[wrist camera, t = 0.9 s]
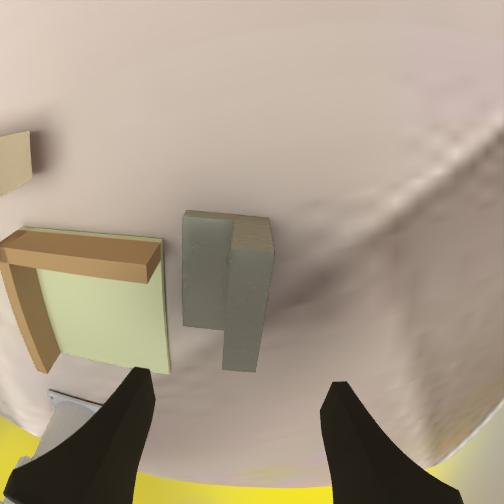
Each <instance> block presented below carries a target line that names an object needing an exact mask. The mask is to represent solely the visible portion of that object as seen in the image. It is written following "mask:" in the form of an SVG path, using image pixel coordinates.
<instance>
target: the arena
mask: <svg viewBox="0 0 504 504" xmlns="http://www.w3.org/2000/svg"><path fill="white" fill-rule="evenodd" d="M0 270H1V274H2V277H3V281H4V284H5V288H6V291H7V294H8V298H9V301H10V304H11V307H12V310H13V313H14V315H15V318H16V321H17V324H18V326H19V329H20V332H21V334H22V337H23V339H24V342H25V344H26V346H27V349H28V351H29V353H30V356H31V358H32V360H33V362H34V364H35V367H36V369H37V371H40V372H43V373H46V374H48V372H49V371H50V369H51V367H52V366H53V364H54V362H55V361H56V359H57V357H58V356H59V354H60V353H61V352H62V353H66V354H69V355H73V356H77V357H81V358H85V359H90V360H94V361H98V362H103V363H108V364H112V365H117V366H122V367H127V368H134V367H141V368H147V369H150V372H156V373H162V374H170V370H171V369H170V359H169V348H168V337H167V324H166V309H165V291H164V267H163V239H159V238H148V237H136V236H125V235H114V234H102V233H90V232H79V231H67V230H55V229H43V228H31V227H22V228H20V229H19V230H17V231H16V232H14V233H13V234H11V235H10V236H8V237H7V238H5V239H4V240H2V241H1V242H0Z"/></svg>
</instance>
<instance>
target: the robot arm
mask: <svg viewBox="0 0 504 504" xmlns="http://www.w3.org/2000/svg"><path fill="white" fill-rule="evenodd" d="M47 394H48V396H49V398H50V400H51V402H52V403H53V405H54V407H55V411H54V413H53V415H52V417H51V419H50V421H49V423H48V425H47V427H46V430H45V432H44V434H43V436H42V438H41V441H40V443H39V445H38V447H37V450H36V452H35V454H34V456H33V457H32V458H30V457H28V456H25V457H21V458H20V459H19V461H18V463H17V465H16V467H15V469H14V470H13V471H12V473H11V475H10V477H9V479H8V482H7V484H6V487H5V490H4V492H3V494H4V496H5V499H4V502H1V501H0V504H132V502H133V493H134V486H135V480H136V474H137V469H138V465H139V462H140V458H141V455H142V452H143V448H144V445H145V442H146V438H147V435H148V432H149V429H150V425H151V422H152V417H153V412H154V406H155V400H156V399H155V394H154V389H153V384H152V379H151V373H150V369H147V368H141V367H134V368H133V369H132V370H131V371H130V373H129V374H128V375H127V377H126V378H125V379H124V381H123V382H122V383H121V384H120V386H119V387H118V388H117V389H116V391H115V392H114V393H113V394H112V395H111V396H110V398H109V399H108V400H107V401H106V402H105V403H104V404H103V406H101V405H97V404H93V403H90V402H86V401H82V400H79V399H76V398H72V397H69V396H66V395H63V394H60V393H56V392H53V391H51V390H48V392H47ZM320 420H321V431H322V437H323V441H324V446H325V451H326V455H327V460H328V465H329V469H330V474H331V480H332V490H333V504H464V503H463V500H462V497H461V495H460V492H459V491H458V490H456V489H455V488H453V487H451V486H449V485H447V484H445V483H443V482H441V481H440V480H438V479H437V478H435V477H434V476H432V475H430V474H429V473H428V472H426V471H425V470H424V469H422V468H421V467H420V466H418V465H417V464H416V463H415V462H413V461H412V460H411V459H410V458H409V457H407V456H406V455H405V454H404V453H403V452H402V451H401V450H400V449H399V448H398V447H397V446H396V445H395V444H394V443H393V442H392V441H391V440H390V438H389V437H388V436H387V435H386V434H385V433H384V432H383V430H382V429H381V428H380V427H379V425H378V424H377V423H376V422H375V420H374V419H373V418H372V416H371V415H370V414H369V412H368V411H367V410H366V408H365V407H364V405H363V404H362V403H361V401H360V400H359V398H358V397H357V395H356V394H355V393H354V391H353V390H352V388H351V387H350V385H349V384H348V383H347V381H345V382H332V384H331V387H330V389H329V391H328V394H327V396H326V398H325V401H324V403H323V405H322V407H321V409H320Z"/></svg>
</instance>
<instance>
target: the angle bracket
mask: <svg viewBox="0 0 504 504" xmlns="http://www.w3.org/2000/svg"><path fill="white" fill-rule="evenodd" d="M274 253H275V252H274V246H273V240H272V234H271V228H270V223H269V218H266V217H256V216H246V215H235V214H224V213H213V212H201V211H188V210H186V212H185V214H184V215H183V234H182V296H183V326H188V327H197V328H207V329H217V330H225V333H224V348H223V364H222V370H230V371H243V372H256V366H257V360H258V354H259V348H260V342H261V336H262V330H263V324H264V318H265V311H266V305H267V299H268V292H269V286H270V280H271V273H272V266H273V260H274Z"/></svg>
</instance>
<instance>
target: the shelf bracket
mask: <svg viewBox="0 0 504 504" xmlns="http://www.w3.org/2000/svg"><path fill="white" fill-rule="evenodd" d="M32 179H33V175H32V165H31V152H30V131H26V132H20V133H15V134H11V135H6V136H1V137H0V197H1V196H3V195H5V194H7V193H8V192H10V191H12V190H14V189H15V188H17V187H19V186H21V185H22V184H24V183H26V182H28V181H30V180H32Z"/></svg>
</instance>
